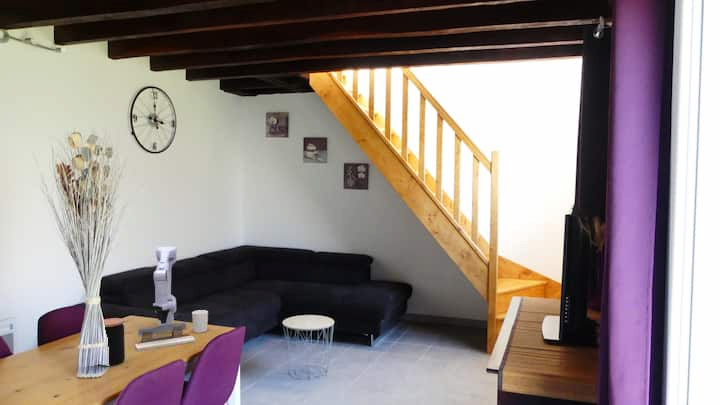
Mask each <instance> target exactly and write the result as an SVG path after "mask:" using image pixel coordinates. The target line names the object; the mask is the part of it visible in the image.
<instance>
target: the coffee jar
mask: <svg viewBox="0 0 720 405" xmlns="http://www.w3.org/2000/svg"><path fill="white" fill-rule="evenodd" d="M103 320H104V323H105V324H104V325H105V330H106V334H107V337H108V347H109V365H110V366H109V367H114V366H117V365H120V364H123V362H124V361H125V358H126V357H125V356H126V353H125V352H126V350H125V344H126V343H125V325H124V322H125V320H124V319H123V318H119V317H114V318H113V317H111V318H105V319H103Z"/></svg>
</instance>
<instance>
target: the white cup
mask: <svg viewBox="0 0 720 405" xmlns="http://www.w3.org/2000/svg"><path fill="white" fill-rule="evenodd" d="M191 314H192V317H191V318H192V327H193V328H192V329H193V332H194V333H197V334H198V333H199V334H200V333H205V332H207V331H208V320H209V317H208V316H209V311H208V310H206V309H202V310H201V309H199V310H193V311H192V312H191Z"/></svg>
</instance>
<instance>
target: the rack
mask: <svg viewBox="0 0 720 405" xmlns="http://www.w3.org/2000/svg"><path fill="white" fill-rule="evenodd" d="M183 332H184V330H182V328H176V329H174V331H173V332H171V335H167V336H159V337H154V336H153V335H154V334H153V332H148V333H143V336H141V339H140V344H141V343H147V342H154V341H161V340H167V339H174V338H180V337H184V336H183Z"/></svg>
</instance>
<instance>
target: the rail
mask: <svg viewBox="0 0 720 405" xmlns="http://www.w3.org/2000/svg"><path fill="white" fill-rule="evenodd" d="M176 328H182V330H183V331H185V330H187V323H186V322H178V323H177V322H176V323H174V324H169V325H162V326H159V325H156V326H149V327H142V328H137V337H142V336H143V333H148V332H153V335H157V334H165V333H172V332H173V331H174V329H176Z"/></svg>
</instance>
